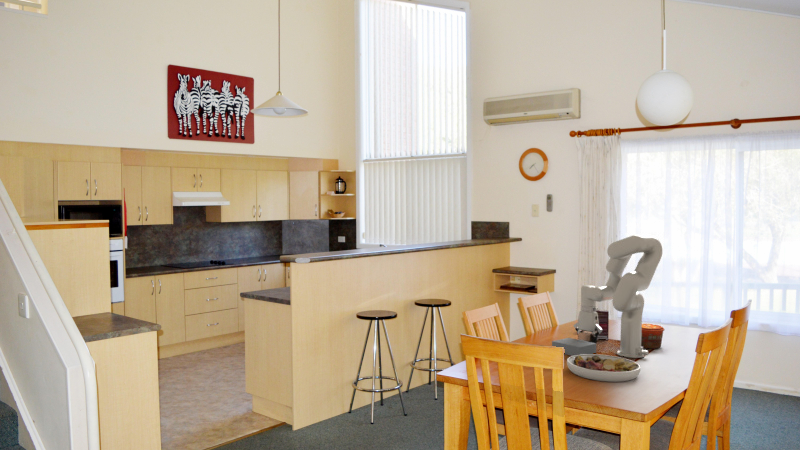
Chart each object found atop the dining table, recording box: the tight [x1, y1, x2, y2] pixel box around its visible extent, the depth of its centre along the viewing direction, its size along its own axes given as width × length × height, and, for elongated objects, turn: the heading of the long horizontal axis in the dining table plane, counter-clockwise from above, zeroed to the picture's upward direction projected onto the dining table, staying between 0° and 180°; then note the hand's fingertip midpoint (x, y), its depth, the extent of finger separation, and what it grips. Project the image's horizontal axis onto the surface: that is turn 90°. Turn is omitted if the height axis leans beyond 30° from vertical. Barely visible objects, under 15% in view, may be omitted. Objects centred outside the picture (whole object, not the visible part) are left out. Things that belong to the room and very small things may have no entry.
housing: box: [577, 331, 593, 342], centre depth 303 cm, size 6×6×7 cm
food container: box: [641, 323, 665, 350], centre depth 305 cm, size 16×16×11 cm
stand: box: [551, 337, 597, 357], centre depth 288 cm, size 16×14×5 cm
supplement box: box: [596, 309, 610, 341], centre depth 321 cm, size 9×5×16 cm, turn 84°
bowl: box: [566, 353, 641, 383], centre depth 251 cm, size 30×30×8 cm
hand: (587, 342), depth 303 cm, fingers open, 7 cm apart
